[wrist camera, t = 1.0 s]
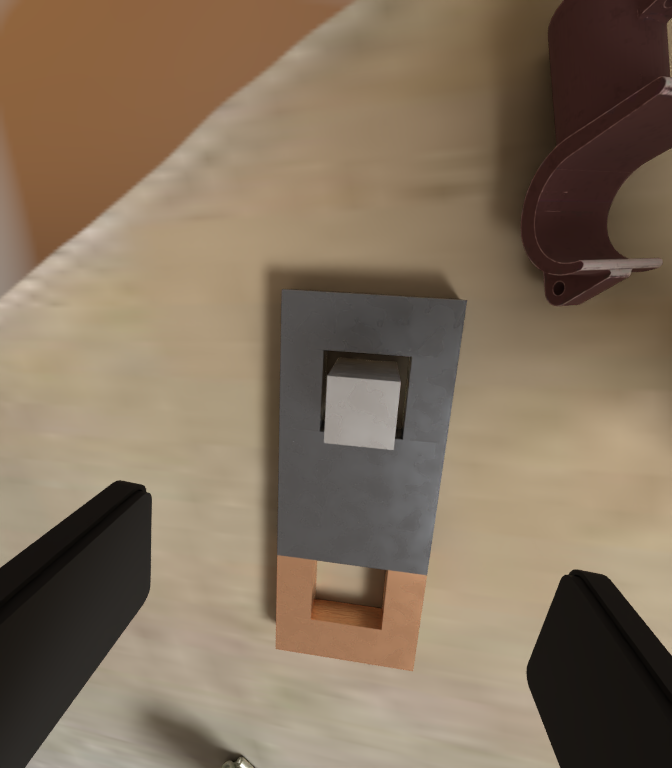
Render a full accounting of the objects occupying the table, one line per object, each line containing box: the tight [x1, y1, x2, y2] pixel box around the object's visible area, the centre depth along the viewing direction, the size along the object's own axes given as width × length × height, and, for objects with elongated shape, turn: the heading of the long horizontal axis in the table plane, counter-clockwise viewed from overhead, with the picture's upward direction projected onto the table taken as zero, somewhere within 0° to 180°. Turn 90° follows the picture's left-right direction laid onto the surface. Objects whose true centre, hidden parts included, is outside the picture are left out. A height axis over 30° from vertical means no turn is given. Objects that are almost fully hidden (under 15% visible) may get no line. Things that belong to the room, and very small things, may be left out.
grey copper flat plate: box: [276, 289, 467, 671], centre depth 34 cm, size 14×36×2 cm, turn 177°
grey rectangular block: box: [324, 357, 401, 450], centre depth 29 cm, size 5×5×7 cm
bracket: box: [521, 0, 672, 306], centre depth 22 cm, size 6×17×10 cm, turn 7°
